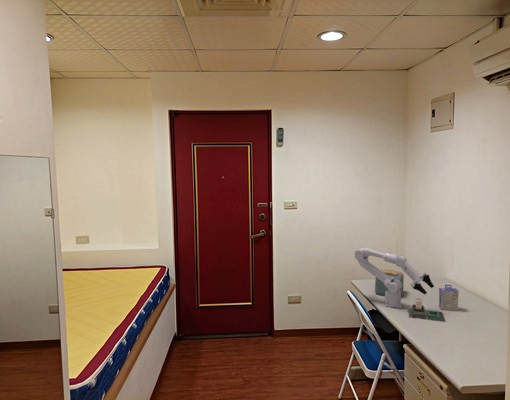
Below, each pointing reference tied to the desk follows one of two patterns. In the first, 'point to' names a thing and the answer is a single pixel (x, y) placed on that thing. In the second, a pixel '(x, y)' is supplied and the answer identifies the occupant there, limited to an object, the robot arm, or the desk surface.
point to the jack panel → (425, 314)
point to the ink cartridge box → (448, 298)
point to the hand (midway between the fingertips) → (429, 290)
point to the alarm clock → (380, 285)
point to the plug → (418, 303)
